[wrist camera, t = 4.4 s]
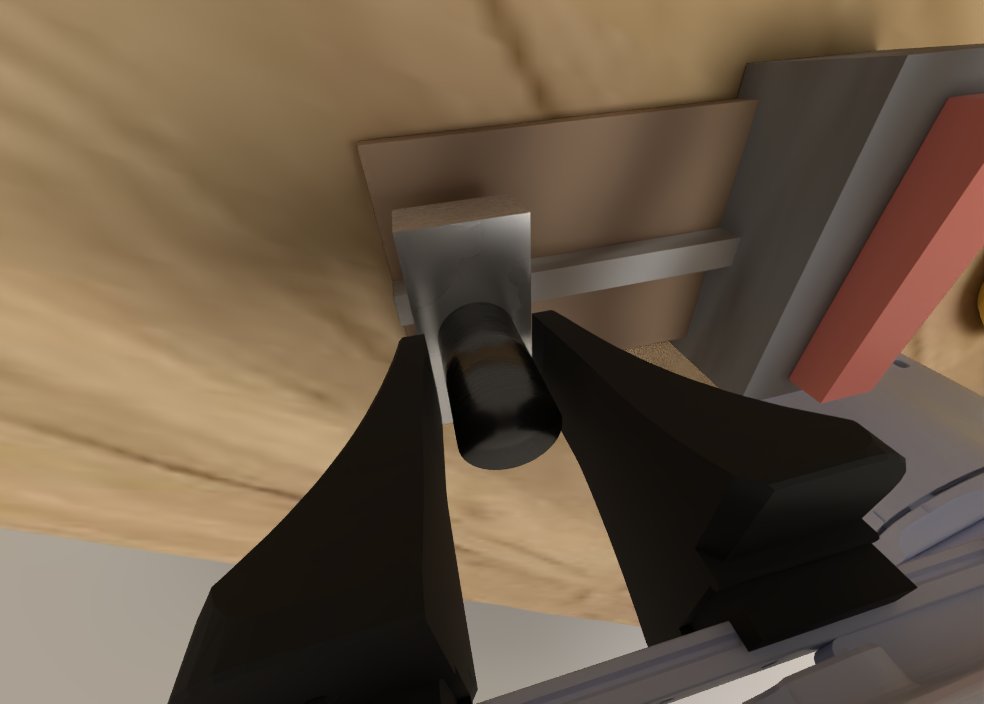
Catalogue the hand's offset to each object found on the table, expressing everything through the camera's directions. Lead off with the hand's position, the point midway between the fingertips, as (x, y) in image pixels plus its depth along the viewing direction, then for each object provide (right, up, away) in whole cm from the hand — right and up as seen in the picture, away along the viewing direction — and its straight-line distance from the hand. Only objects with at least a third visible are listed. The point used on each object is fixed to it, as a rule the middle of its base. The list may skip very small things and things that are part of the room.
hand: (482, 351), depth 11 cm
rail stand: (+6, +4, +5) cm, 9 cm away
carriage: (-1, +2, +3) cm, 4 cm away
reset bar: (+14, +3, +2) cm, 14 cm away
